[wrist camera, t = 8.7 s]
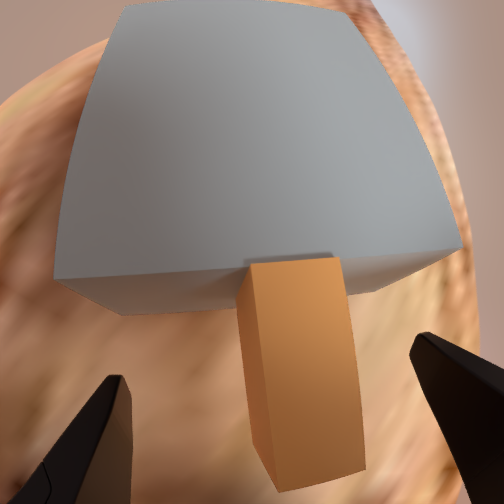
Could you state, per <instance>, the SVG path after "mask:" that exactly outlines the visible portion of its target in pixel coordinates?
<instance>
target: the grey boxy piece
mask: <svg viewBox="0 0 504 504" xmlns="http://www.w3.org/2000/svg"><path fill="white" fill-rule="evenodd" d="M461 248H463V244H462V240H461V237H460V234H459V230H458V227H457V224H456V221H455V218H454V215H453V212H452V209H451V206H450V203H449V200H448V197H447V195H446V192H445V189H444V187H443V184H442V181H441V179H440V176H439V174H438V171H437V169H436V167H435V164H434V162H433V160H432V157H431V155H430V153H429V151H428V148H427V146H426V144H425V142H424V140H423V138H422V135H421V133H420V131H419V129H418V127H417V125H416V123H415V121H414V119H413V117H412V116H411V114H410V112H409V110H408V108H407V106H406V104H405V102H404V101H403V99H402V97H401V95H400V93H399V92H398V90H397V88H396V87H395V85H394V83H393V82H392V80H391V78H390V77H389V75H388V73H387V72H386V70H385V68H384V67H383V65H382V64H381V62H380V61H379V59H378V58H377V56H376V55H375V53H374V52H373V50H372V49H371V47H370V46H369V44H368V43H367V41H366V40H365V39H364V37H363V36H362V34H361V33H360V32H359V30H358V29H357V28H356V26H355V25H354V24H353V22H352V21H351V20H350V19H349V17H348V16H347V15H346V13H343V12H338V11H334V10H329V9H324V8H318V7H313V6H306V5H300V4H293V3H285V2H276V1H265V0H170V1H160V2H150V3H143V4H136V5H129V6H125V8H124V10H123V12H122V14H121V16H120V18H119V20H118V22H117V24H116V26H115V28H114V30H113V33H112V35H111V37H110V39H109V41H108V44H107V46H106V48H105V51H104V53H103V55H102V58H101V60H100V63H99V65H98V68H97V71H96V73H95V76H94V79H93V81H92V84H91V87H90V90H89V93H88V96H87V99H86V102H85V105H84V108H83V112H82V115H81V118H80V122H79V125H78V129H77V132H76V136H75V140H74V144H73V148H72V152H71V156H70V161H69V165H68V170H67V175H66V180H65V185H64V190H63V196H62V202H61V208H60V215H59V222H58V230H57V239H56V248H55V260H54V275H53V280H55V281H57V282H59V283H60V284H62V285H64V286H66V287H68V288H69V289H71V290H73V291H75V292H77V293H79V294H80V295H82V296H84V297H86V298H88V299H90V300H92V301H94V302H96V303H98V304H100V305H102V306H104V307H106V308H108V309H110V310H112V311H114V312H116V313H118V314H120V315H144V314H163V313H179V312H194V311H207V310H220V309H231V308H237V316H238V325H239V334H240V343H241V351H242V360H243V368H244V377H245V385H246V393H247V401H248V409H249V416H250V424H251V432H252V439H253V445H254V447H255V449H256V451H257V453H258V455H259V457H260V459H261V461H262V462H263V464H264V466H265V468H266V470H267V472H268V474H269V476H270V478H271V479H272V481H273V483H274V485H275V487H276V489H277V490H278V492H279V493H280V492H285V491H290V490H295V489H299V488H304V487H308V486H312V485H316V484H320V483H324V482H327V481H331V480H335V479H338V478H341V477H345V476H348V475H351V474H354V473H357V472H360V471H363V470H366V464H365V445H364V430H363V417H362V406H361V396H360V386H359V378H358V369H357V361H356V353H355V346H354V339H353V332H352V326H351V319H350V313H349V307H348V301H347V295H354V294H361V293H368V292H374V291H377V290H379V289H381V288H383V287H385V286H387V285H390V284H392V283H394V282H396V281H398V280H400V279H402V278H404V277H406V276H409V275H411V274H413V273H415V272H417V271H419V270H421V269H423V268H425V267H427V266H429V265H431V264H433V263H435V262H437V261H439V260H441V259H443V258H444V257H446V256H448V255H450V254H452V253H454V252H456V251H458V250H460V249H461Z"/></svg>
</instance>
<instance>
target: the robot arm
mask: <svg viewBox="0 0 504 504" xmlns="http://www.w3.org/2000/svg"><path fill="white" fill-rule="evenodd" d="M409 356H410V360H411V362H412V365H413V367H414V370H415V372H416V375H417V378H418V380H419V383H420V385H421V388H422V391H423V393H424V395H425V397H426V400H427V402H428V404H429V406H430V408H431V410H432V412H433V414H434V416H435V418H436V420H437V422H438V424H439V427H440V429H441V431H442V433H443V435H444V437H445V440H446V442H447V444H448V446H449V449H450V451H451V453H452V456H453V458H454V460H455V463H456V465H457V467H458V470H459V472H460V475H461V477H462V480H463V482H464V484H465V488H466V490H467V493H468V496H469V498H470V501H471V504H504V369H502V368H500V367H498V366H496V365H494V364H492V363H491V362H489V361H486V360H484V359H483V358H480V357H479V356H477V355H475V354H473V353H471V352H469V351H467V350H465V349H463V348H461V347H459V346H457V345H454V344H452V343H450V342H448V341H446V340H444V339H442V338H440V337H438V336H436V335H434V334H432V333H430V332H423V333H419V334H418V335H417V336H416V337H415V340H414V342H413V345H412V347H411V350H410V353H409ZM132 455H133V433H132V398H131V393H130V391H129V388H128V386H127V384H126V381H125V379H124V377H123V376H122V375H108V376H107V377H106V378H105V379H104V381H103V382H102V383H101V384H100V386H99V387H98V388H97V390H96V391H95V392H94V393H93V395H92V396H91V397H90V398H89V400H88V401H87V402H86V404H85V405H84V406H83V407H82V409H81V410H80V411H79V413H78V414H77V415H76V417H75V418H74V419H73V420H72V422H71V423H70V424H69V426H68V427H67V428H66V430H65V431H64V432H63V434H62V435H61V436H60V438H59V439H58V440H57V442H56V443H55V444H54V446H53V447H52V448H51V450H50V451H49V452H48V454H47V455H46V456H45V458H44V459H43V462H41V463H40V464H39V466H38V467H37V468H36V470H35V471H34V472H33V474H32V475H31V476H30V478H29V479H28V480H27V482H26V483H25V484H24V485H23V486H22V487H21V489H20V490H19V491H18V492H17V493H16V494H15V495H14V497H13V498H12V499H11V500H10V501H9V502H8V503H7V504H130V497H131V472H132Z"/></svg>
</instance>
